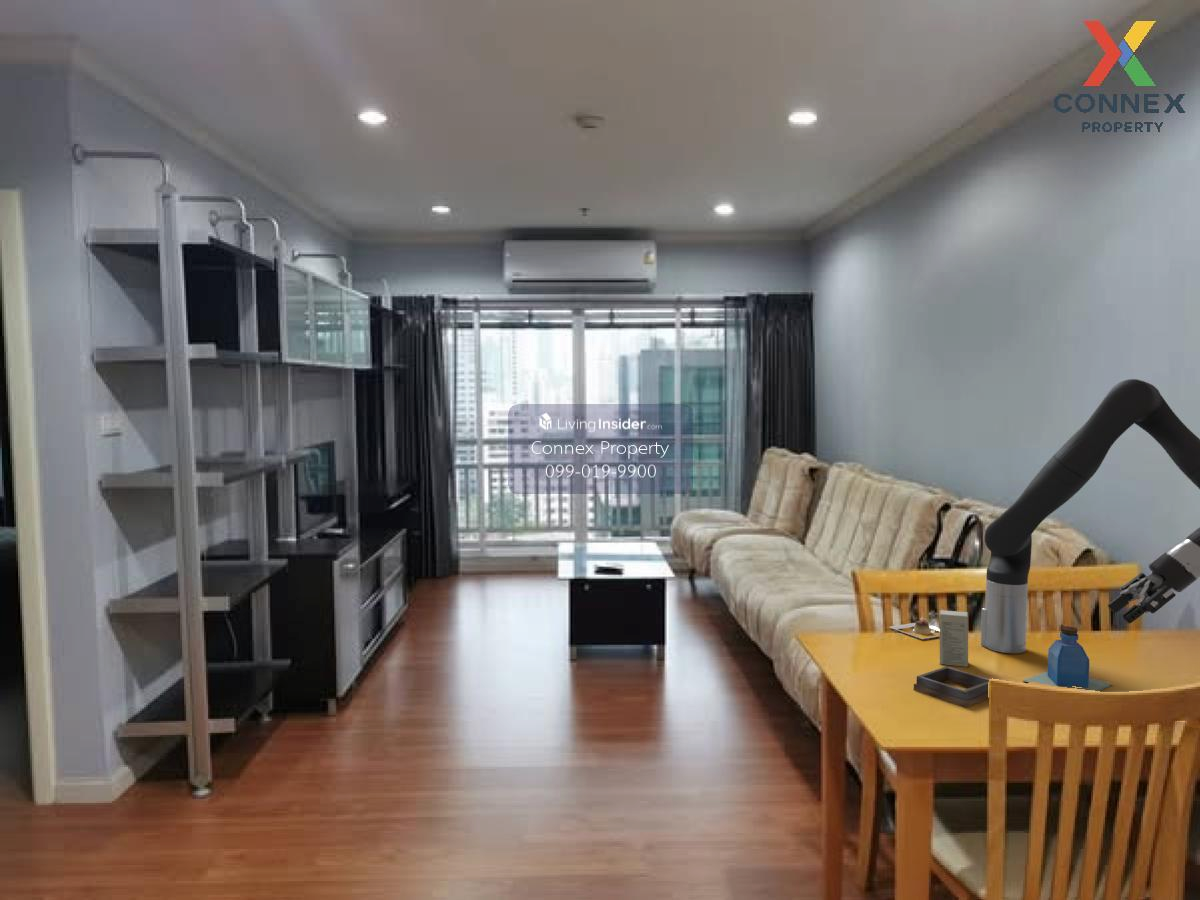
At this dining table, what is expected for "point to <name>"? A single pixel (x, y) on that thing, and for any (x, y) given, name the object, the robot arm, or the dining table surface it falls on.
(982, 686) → the shallow navy tray
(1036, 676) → the mat
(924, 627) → the dessert
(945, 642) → the skincare box
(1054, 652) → the perfume bottle
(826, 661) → the dining table surface
